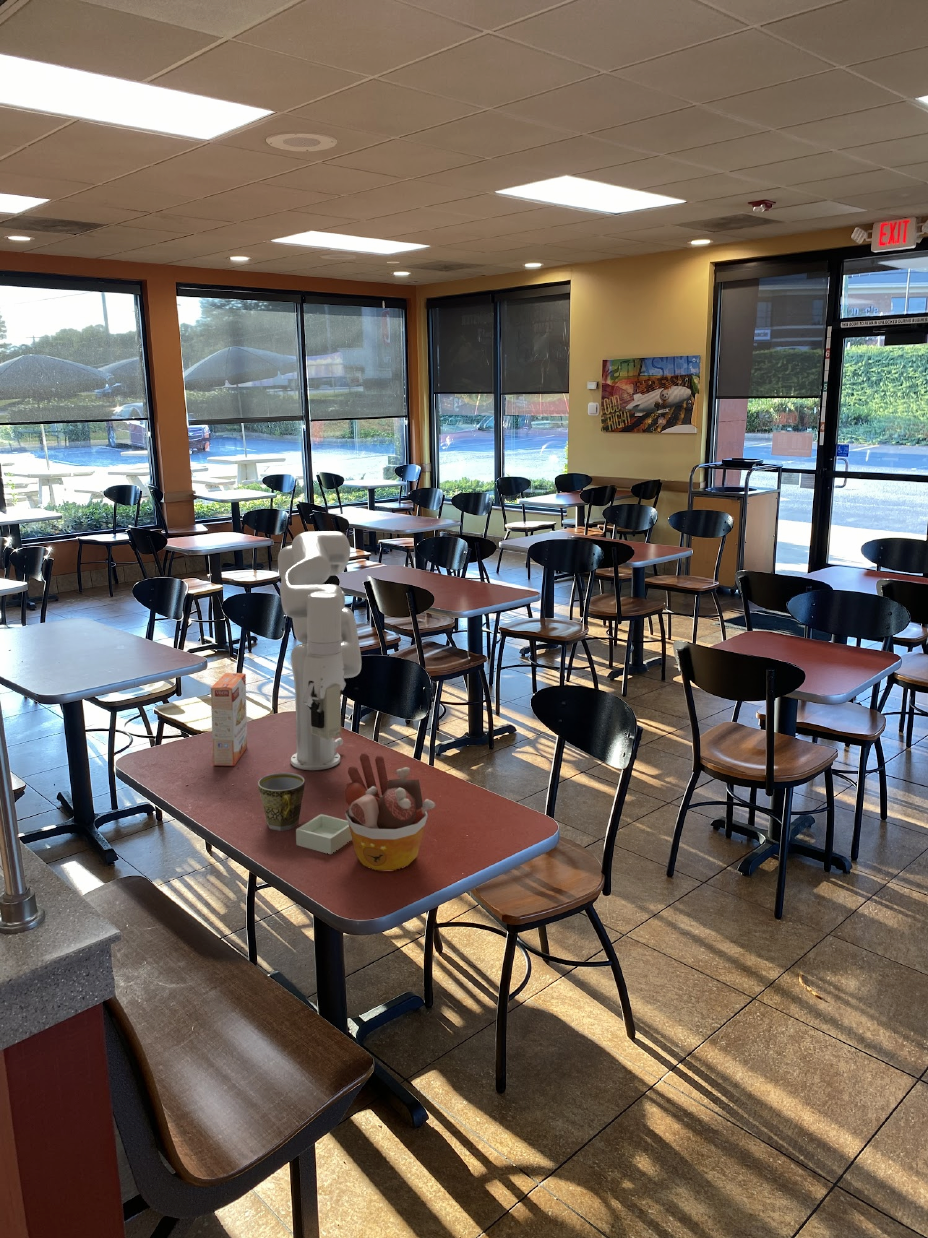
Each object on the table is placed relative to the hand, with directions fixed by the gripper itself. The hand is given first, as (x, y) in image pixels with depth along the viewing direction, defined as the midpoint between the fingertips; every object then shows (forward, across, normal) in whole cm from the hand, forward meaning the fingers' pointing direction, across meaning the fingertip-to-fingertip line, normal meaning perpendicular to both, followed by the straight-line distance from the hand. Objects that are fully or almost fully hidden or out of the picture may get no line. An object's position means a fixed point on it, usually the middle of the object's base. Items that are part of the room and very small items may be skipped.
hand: (325, 722), depth 211 cm
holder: (+18, +18, +13) cm, 29 cm away
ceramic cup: (+19, +17, +1) cm, 25 cm away
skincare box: (+3, 0, 0) cm, 3 cm away
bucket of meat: (+18, +18, +28) cm, 38 cm away
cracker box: (+20, -9, -37) cm, 43 cm away
